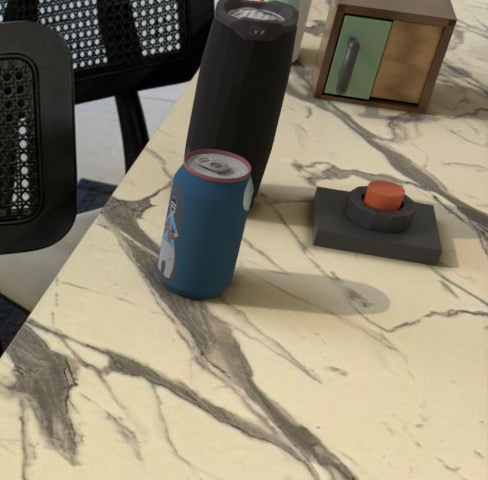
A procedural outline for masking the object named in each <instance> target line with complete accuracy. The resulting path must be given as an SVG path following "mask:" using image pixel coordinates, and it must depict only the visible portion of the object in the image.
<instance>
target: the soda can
mask: <svg viewBox="0 0 488 480" xmlns="http://www.w3.org/2000/svg"><path fill="white" fill-rule="evenodd" d="M183 162H184V163H182V164H181V166H180V167H179V168H178V169H177V171H176V172H175V173H174V175H173V179H172V184H171V189H170V195H169V200H168V206H167V210H166V216H165V222H164V227H163V233H162V238H161V244H160V248H159V254H158V259H157V263H156V264H157V265H156V274H157V276H158V279H159V281H160V283H161V285H162V286H163V287H164V288H165V289H166V290H168V291H169V292H170V293H172V294H174V295H177V296H180V297H183V298H186V299H191V300H209V299H214V298H217V297H219V296H220V295H222V294H223V293H225V292H226V290H227V289H228V288H229V287H230V286H231V284H232V281H233V277H234V274H235V269H236V265H237V262H238V261H237V260H238V256H239V253H240V249H241V244H242V241H243V237H244V233H245V228H246V224H247V220H248V217H249V216H248V215H249V211H250V210H249V207H250V203H251V199H252V195H253V191H254V187H253V182H252V179H251V175H250V173H251V166H250V164H249V163H248V161H246V160H245V159H244V158H242V157H241V156H238V155H236V154H233V153H230V152H226V151H221V150H213V149H203V150H196V151H193V152H190V153H189V154H187V155H186V156H185V158H184V157H183Z"/></svg>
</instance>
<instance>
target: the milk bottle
mask: <svg viewBox="0 0 488 480" xmlns="http://www.w3.org/2000/svg"><path fill="white" fill-rule="evenodd" d="M251 1H263V2H271V1H280V2H284V3H287V4H290V5H293V6H294V7H295V8H296V9H297V10H298V11H299V18H298V22H297V25H296V26H297V32H296V38H295V45H294V51H293V57H292V64H293V63H295V62H296V61H297V60H298V57H299V54H300V50H301V47H302V42H303V38H304V34H305V30H306V27H307V22H308V19H309V14H310V10H311V6H312V2H313V0H251Z"/></svg>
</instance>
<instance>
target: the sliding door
mask: <svg viewBox="0 0 488 480" xmlns="http://www.w3.org/2000/svg"><path fill="white" fill-rule="evenodd" d="M391 25H392V21H388V20H380V19H373V18H366V17H359V16H352V15H345V17H344V21H343V24H342V28H341V32H340V35H339V39H338V43H337V46H336V50H335V54H334V57H333V61H332V65H331V68H330V72H329V76H328V79H327V83H326V87H325V90H324V93H330V94H336V95H343V96H349V97H356V98H363V99H369V97H370V94H371V91H372V87H373V84H374V81H375V77H376V74H377V71H378V68H379V64H380V61H381V58H382V54H383V51H384V48H385V45H386V41H387V38H388V35H389V32H390V28H391Z"/></svg>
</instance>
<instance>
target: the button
mask: <svg viewBox="0 0 488 480" xmlns="http://www.w3.org/2000/svg"><path fill="white" fill-rule="evenodd" d="M367 186H368V187H367V190H366V193H365V197H364V200H363V201H364V202H365V203H366V204H367V205H369V206H372V207H374V208H377V209H380V210H386V211H396V210H399V209H400V206H401V203H402V201H403V198H404V195H405V194H406V190H405V188H404V187H403V186H402V185H400V184H398V183H396V182H393V181H390V180H384V179H376V180H372V181H369V183H368V184H367Z"/></svg>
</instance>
